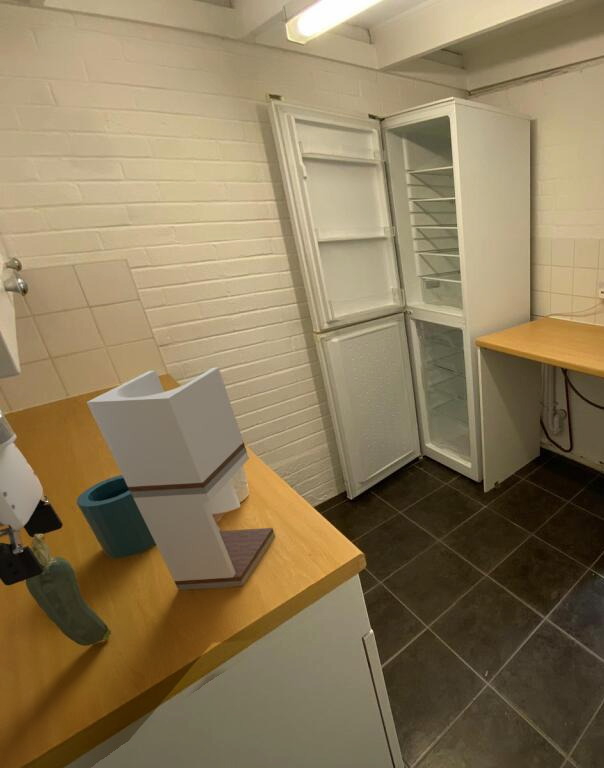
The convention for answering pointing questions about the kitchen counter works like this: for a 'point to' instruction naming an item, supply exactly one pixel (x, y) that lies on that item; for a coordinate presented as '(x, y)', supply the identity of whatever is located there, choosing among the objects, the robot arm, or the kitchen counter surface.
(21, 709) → the kitchen counter surface
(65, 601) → the vegetable
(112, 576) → the kitchen counter surface
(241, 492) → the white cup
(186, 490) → the white coffee maker
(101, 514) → the jar
